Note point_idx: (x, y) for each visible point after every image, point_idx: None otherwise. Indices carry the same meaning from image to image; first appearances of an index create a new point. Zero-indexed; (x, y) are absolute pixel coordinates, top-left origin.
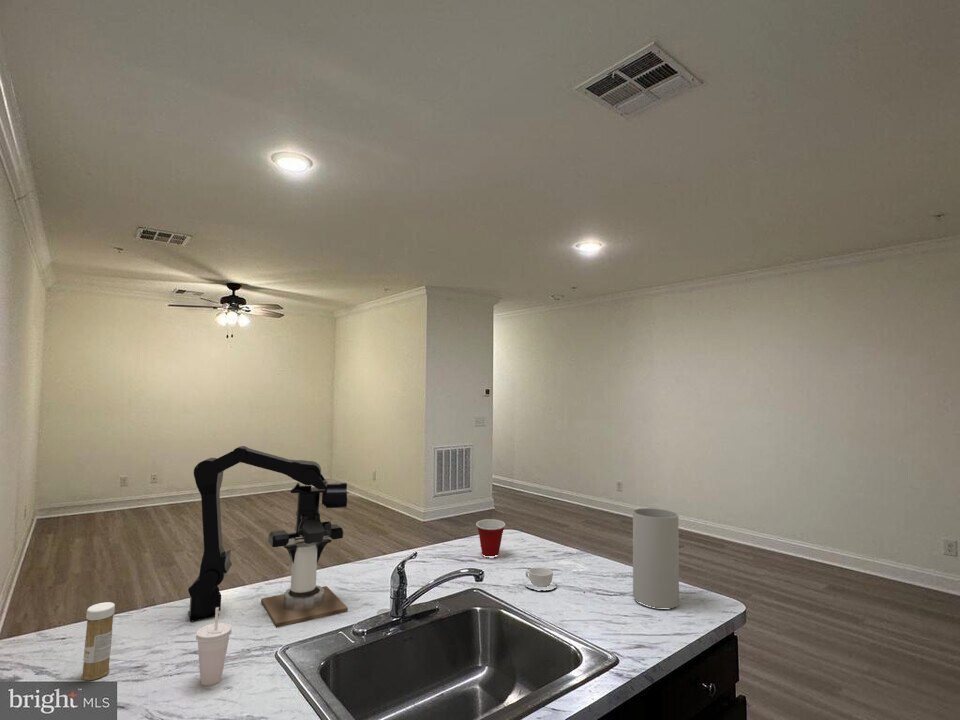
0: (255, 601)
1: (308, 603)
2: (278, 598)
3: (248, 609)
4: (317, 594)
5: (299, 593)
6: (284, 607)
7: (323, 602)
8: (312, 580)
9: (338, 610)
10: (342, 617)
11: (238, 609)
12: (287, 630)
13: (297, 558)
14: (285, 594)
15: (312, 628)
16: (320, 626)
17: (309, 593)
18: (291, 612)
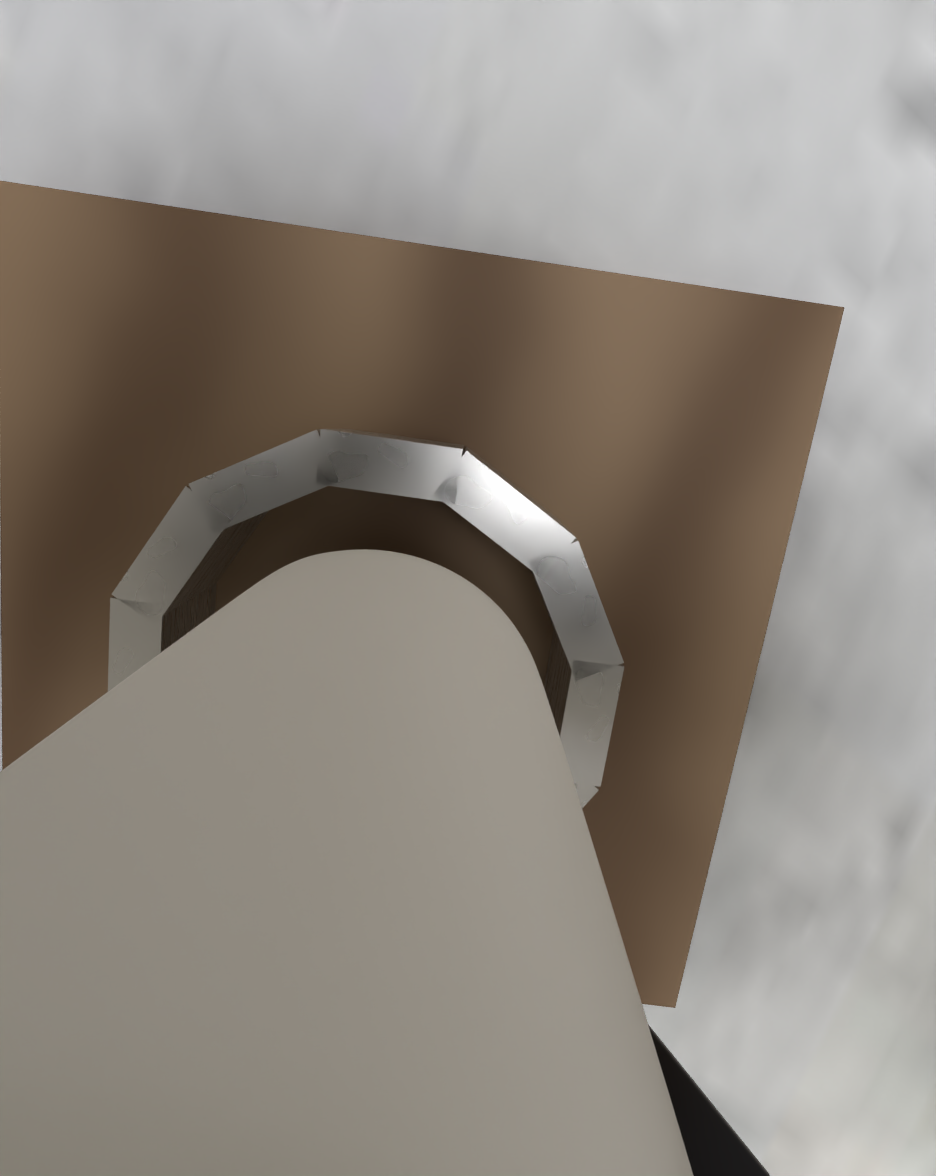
0: (691, 1026)
1: (409, 439)
2: None
3: (816, 899)
4: (254, 487)
5: None
6: None
7: None
8: (259, 590)
9: (124, 199)
10: (137, 79)
11: (881, 950)
12: (762, 169)
13: (636, 1040)
14: (595, 750)
15: (535, 23)
16: (442, 11)
17: None
18: (589, 491)
